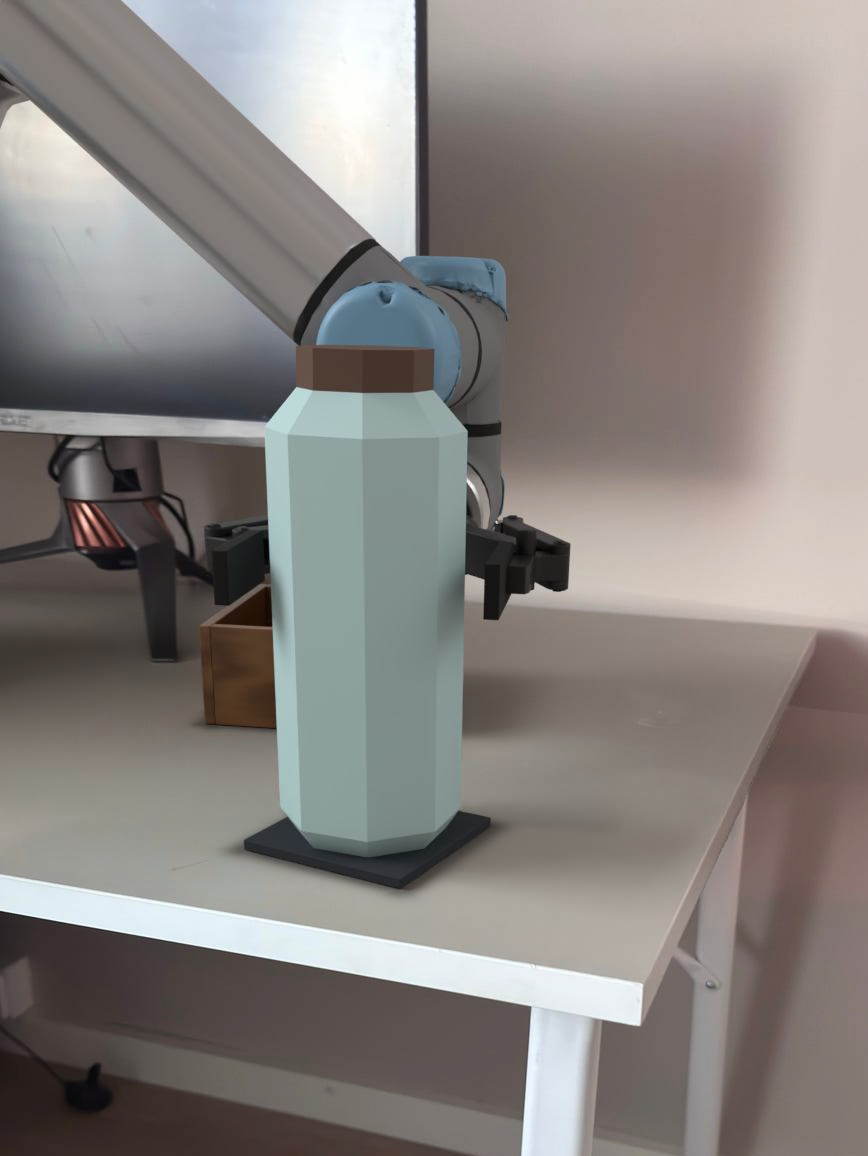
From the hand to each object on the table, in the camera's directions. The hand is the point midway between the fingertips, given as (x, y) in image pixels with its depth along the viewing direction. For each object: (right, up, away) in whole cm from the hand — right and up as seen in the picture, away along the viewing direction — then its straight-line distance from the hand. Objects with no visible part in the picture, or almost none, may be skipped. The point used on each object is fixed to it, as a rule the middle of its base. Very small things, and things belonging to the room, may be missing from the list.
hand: (354, 585), depth 63 cm
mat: (0, -12, +9) cm, 15 cm away
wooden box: (-5, -2, +33) cm, 34 cm away
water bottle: (0, -12, +9) cm, 15 cm away
